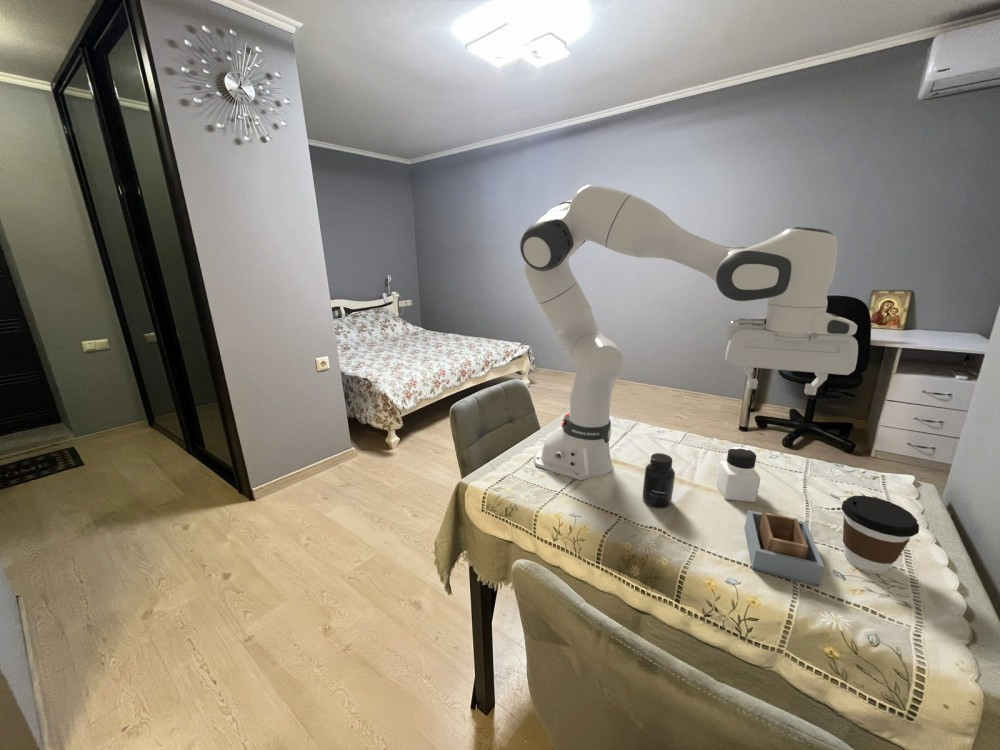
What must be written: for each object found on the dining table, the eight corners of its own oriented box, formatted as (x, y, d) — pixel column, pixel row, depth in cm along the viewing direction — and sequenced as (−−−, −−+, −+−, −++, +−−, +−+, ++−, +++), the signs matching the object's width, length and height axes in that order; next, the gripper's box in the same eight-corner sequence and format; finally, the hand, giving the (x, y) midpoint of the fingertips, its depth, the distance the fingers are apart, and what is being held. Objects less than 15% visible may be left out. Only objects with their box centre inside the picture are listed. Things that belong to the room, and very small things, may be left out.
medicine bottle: (756, 502, 99) (764, 459, 95) (724, 499, 100) (731, 456, 96) (745, 486, 105) (752, 445, 102) (715, 484, 107) (722, 443, 103)
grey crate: (752, 569, 78) (755, 550, 77) (744, 527, 90) (747, 510, 89) (819, 586, 74) (824, 566, 73) (801, 540, 86) (806, 522, 84)
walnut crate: (764, 564, 79) (770, 538, 77) (757, 535, 86) (762, 511, 85) (801, 573, 76) (808, 547, 75) (791, 543, 84) (796, 518, 82)
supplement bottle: (653, 511, 96) (658, 466, 93) (636, 495, 103) (640, 453, 99) (677, 505, 98) (683, 462, 95) (659, 490, 104) (664, 449, 101)
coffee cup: (832, 569, 78) (846, 516, 74) (827, 536, 87) (839, 488, 83) (909, 593, 72) (929, 537, 69) (896, 556, 81) (912, 504, 77)
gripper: (730, 320, 76) (720, 389, 80) (869, 326, 67) (850, 403, 71) (728, 315, 81) (718, 380, 85) (856, 320, 73) (839, 392, 77)
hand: (779, 391), depth 78 cm, fingers open, 8 cm apart
